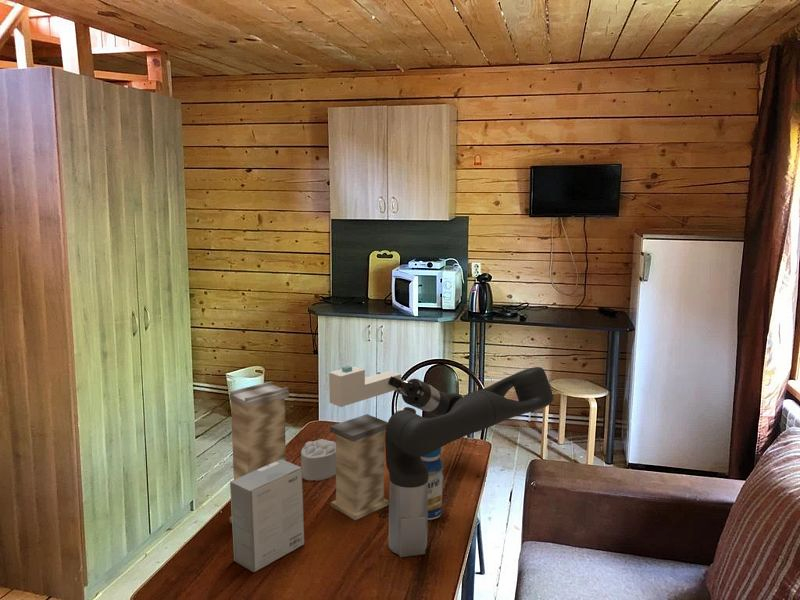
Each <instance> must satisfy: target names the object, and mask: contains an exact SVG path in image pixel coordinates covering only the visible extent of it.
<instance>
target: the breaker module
mask: <svg viewBox="0 0 800 600" xmlns="http://www.w3.org/2000/svg"><path fill="white" fill-rule="evenodd" d="M379 373H380V374H377V373H376V374H373V375H369V376H366V370H365V369H363V368H360V367H357V366H354V365H352V366H349V365H346V366H342V367H341V369H337V370H334V371H329V373H328V375H329V377H328V378H329V379H328V381H329V382H328V383H329V384H328V385H329V389H328V390H329V403H330V404H332V405H335V406H338V407H340V408H343V407H345V406H349V405H353V404H355V403H358V402H359V403H360V402H361V401H365V400H368V399H371V398H375V397H378V396H381V395H385V394H388V393H390V392H395V391H394V390H397V389H398V388H396V387H394V386H392V385H389V384H388V382H389V379H390V377H391V376H392V377H395V378H397V379H399V380H402V374H401V373H399V372H395V371H392V370H386V371H384V372H379Z"/></svg>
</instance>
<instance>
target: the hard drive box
mask: <svg viewBox="0 0 800 600" xmlns="http://www.w3.org/2000/svg"><path fill="white" fill-rule="evenodd" d="M229 487H230V488H229V489H230V507H231V508H230V509H231V517H232V523H231V525H232V541H233V542H232V544H233V561H234V562H236V563H237V564H238V565H241V566H242V567H244V568H246V569H248V570H249V571H250V572H252V573H256V572H257V571H259V570H261V569H263V568H264V567H267V566H269V565H270V564H271V563H273V562H275V561H277V560H278V559H280V558H282V557H284V556H286V555H287V554H290V553H291V552H294V551H295V550H296V549H298V548H300V547H302V546H304V545H305V529H304V528H305V527H304V496H303V494H304V493H303V477H302V468H301V466H299V465H296V464H294V463H292V462H289V461H287V460H286V461H285V460H282V459H281V460H278V461H276V462H274V463H271V464H269V465H267V466H264V467H262V468H260V469H257V470H255V471H253V472H251V473H249V474H246V475H244V476H242V477H239V478H237V479H235V480H234V479H233V480H230V481H229Z"/></svg>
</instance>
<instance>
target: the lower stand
mask: <svg viewBox="0 0 800 600" xmlns="http://www.w3.org/2000/svg"><path fill="white" fill-rule="evenodd" d="M387 423H388V421H386V420H383V419H380V418H378V417H376V416H373V415H370V414H364V415H360V416H358V417H357V416H356V417H355V418H352V419H351V418H350V419H348V420H345V421H343V422H338V423H336V424H332V425H330V426H329V432H330V433H332V434H334V435H335V443H336V474H335V499H334V500H333V501H331V502H330V507H331V508H333V509H335V510H336V511H338V512H340V513H342V514H343V515H345V516H347V517H349V518H350V519H352V520H354V521H357V520H359V519H361V518H363V517H366V516H368V515H370V514H372V513H374V512H377V511H378V510H380V509H382V508H384V507H387V506H389V499H386V498H385V497H384V496H385V492H384V491H385V431H386V426H387Z"/></svg>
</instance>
